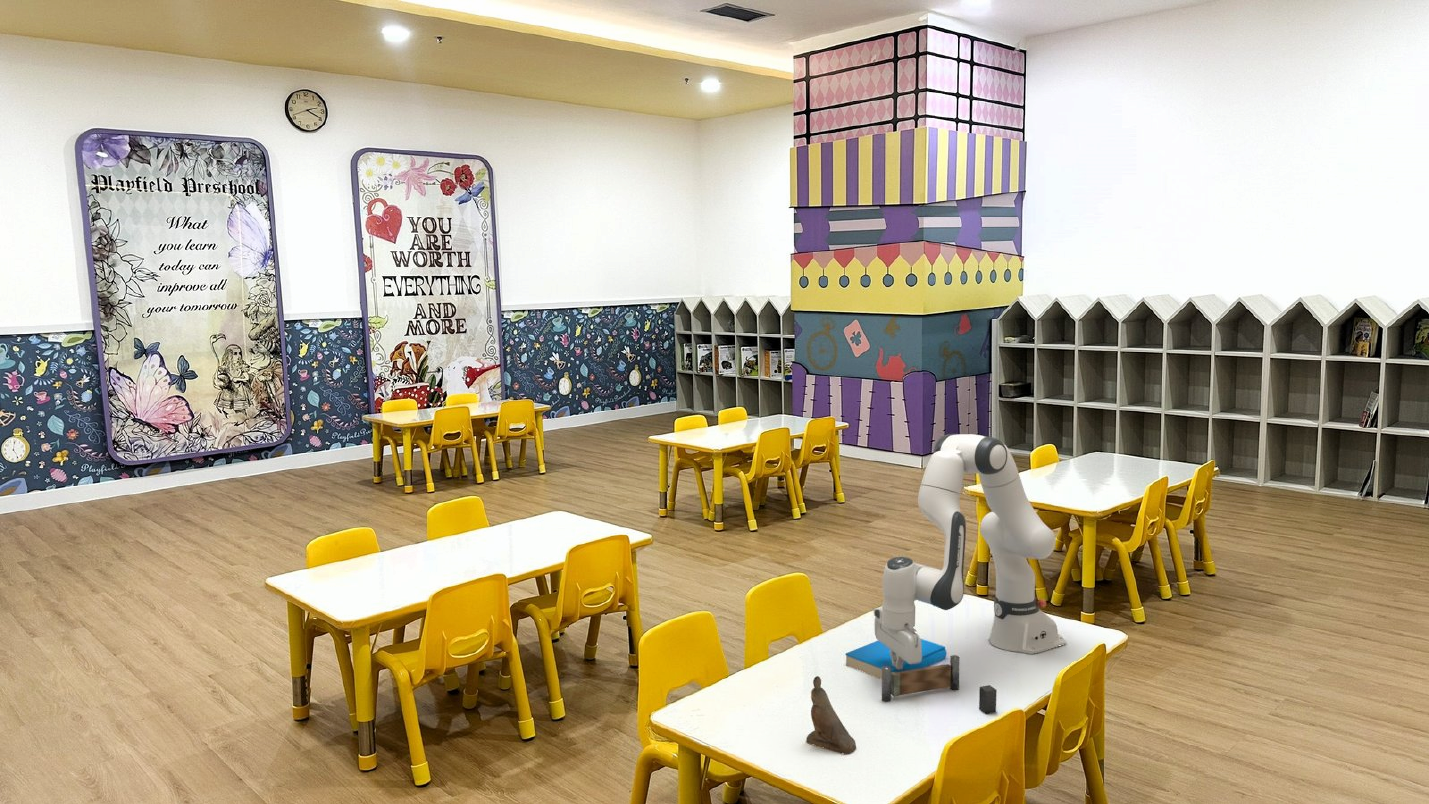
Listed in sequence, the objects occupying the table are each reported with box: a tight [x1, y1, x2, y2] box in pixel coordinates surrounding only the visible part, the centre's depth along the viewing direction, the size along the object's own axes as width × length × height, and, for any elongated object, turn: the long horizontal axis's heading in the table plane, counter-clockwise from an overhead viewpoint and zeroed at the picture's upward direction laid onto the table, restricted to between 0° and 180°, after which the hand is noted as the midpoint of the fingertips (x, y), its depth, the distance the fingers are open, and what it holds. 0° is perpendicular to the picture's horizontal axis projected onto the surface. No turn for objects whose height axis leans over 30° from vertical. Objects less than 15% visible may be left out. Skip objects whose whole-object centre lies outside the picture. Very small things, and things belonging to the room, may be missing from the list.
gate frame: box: [881, 654, 998, 715], centre depth 250 cm, size 24×17×9 cm
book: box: [845, 637, 947, 680], centre depth 278 cm, size 17×4×25 cm
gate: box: [891, 663, 951, 698], centre depth 256 cm, size 17×2×6 cm, turn 108°
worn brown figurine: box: [805, 676, 857, 755], centre depth 230 cm, size 12×6×18 cm, turn 52°
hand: (897, 667), depth 262 cm, fingers closed
